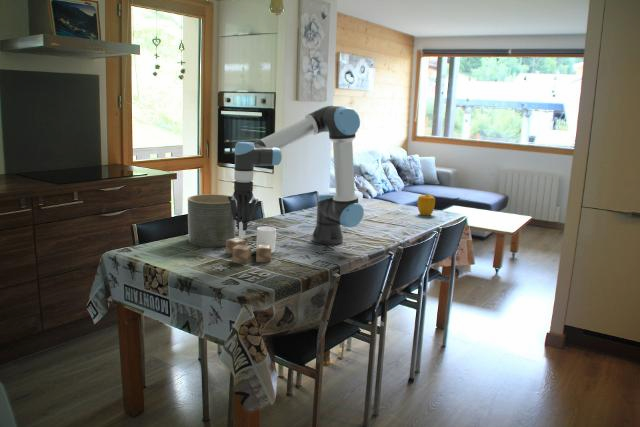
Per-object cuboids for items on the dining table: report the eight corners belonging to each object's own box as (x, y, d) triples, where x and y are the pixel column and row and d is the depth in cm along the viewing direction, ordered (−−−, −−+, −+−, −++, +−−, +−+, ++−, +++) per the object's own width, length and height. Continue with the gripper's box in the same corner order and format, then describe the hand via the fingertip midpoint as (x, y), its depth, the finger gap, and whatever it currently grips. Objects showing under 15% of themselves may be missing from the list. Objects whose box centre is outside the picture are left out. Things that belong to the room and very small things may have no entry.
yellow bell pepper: (421, 212, 347) (422, 192, 344) (436, 214, 341) (438, 194, 338) (413, 214, 338) (415, 194, 336) (429, 217, 332) (431, 196, 329)
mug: (268, 245, 251) (268, 224, 249) (283, 249, 248) (284, 226, 245) (252, 251, 241) (253, 228, 239) (268, 254, 237) (268, 231, 235)
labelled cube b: (271, 258, 233) (271, 244, 232) (270, 262, 227) (271, 248, 226) (256, 257, 233) (257, 244, 231) (256, 262, 227) (256, 248, 226)
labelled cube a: (245, 253, 239) (246, 239, 237) (235, 255, 234) (236, 242, 233) (236, 250, 242) (236, 237, 241) (226, 253, 237) (226, 239, 236)
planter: (177, 243, 248) (177, 199, 244) (204, 233, 268) (205, 192, 264) (220, 250, 241) (221, 205, 236) (244, 239, 261) (245, 197, 257)
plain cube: (251, 260, 229) (251, 246, 228) (246, 264, 223) (246, 249, 222) (237, 258, 230) (237, 244, 229) (232, 262, 224) (232, 248, 223)
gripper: (262, 181, 221) (260, 238, 226) (234, 178, 226) (232, 233, 230) (253, 183, 214) (251, 242, 219) (224, 180, 219) (223, 237, 223)
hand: (242, 237), depth 225 cm, fingers closed
